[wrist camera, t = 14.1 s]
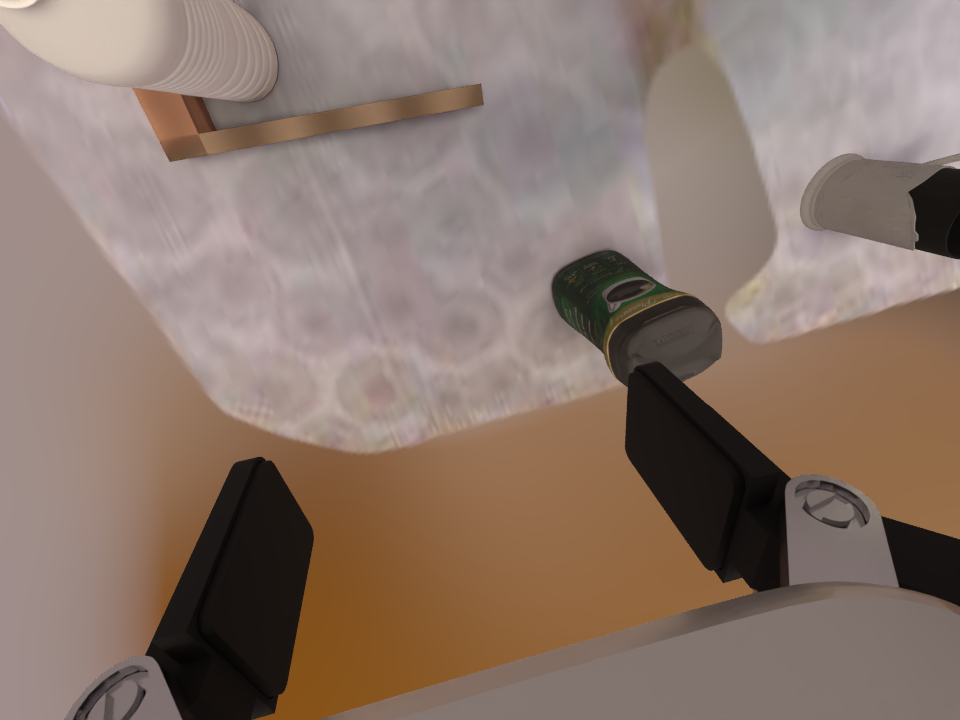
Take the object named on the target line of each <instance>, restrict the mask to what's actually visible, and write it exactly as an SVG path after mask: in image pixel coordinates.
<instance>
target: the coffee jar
mask: <svg viewBox="0 0 960 720" xmlns="http://www.w3.org/2000/svg"><path fill="white" fill-rule="evenodd" d="M553 296H554V300H555V304H556V307H557V310H558V312H559V314H560V316H561V317H562V318H563V319H564V320H565V321H566V322H567V323H568V324H569V325H570V326H572V327H573V328H574V329H575V330H577V331H578V332H579V333H581V334H582V335H583V336H584V337H586V338H587V339H588V340H589V341H590V342H592V343H593V344H594V345H595V346H596V347H597V348H598V349H600V350H601V351H602V353H603V354H604V356H605V360H606V362H607V365H608V367H609V369H610V371H611V373H612V374H613V375H614V377H615V378H616V379H617V380H619V381H620V382H621V383H623V384H624V385H625V386H627V387H628V377H629V374H630V373H633V372H634V368H635V367H636V366H638V365H643V364H647V363H651V362H655V361H658V362H660V363H662V364H663V365H664V366H665V367H666V368H667V369H668V370H669V371H671V372H672V373H673V374H674V375H675V376H676V377H677V378H678V379H679V380H681V381H682V382H683V381H685V380H687V379H689V378H691V377H693V376H696V375H698V374H699V373H701V372H703V371H704V370H706V369H707V368H708V367H710V366H711V365H712V364H713V363H714V362H715V361H716V360H718V359H720V358H721V352H722V329H721V324H720V321H719V319H718V318H717V316H716V315H715V313H714V312H713V311H712V310H711V309H710V308H709V307H707V306H706V305H705V304H704V303H703V302H702V301H700V300H699V299H698V298H696V297H695V296H693V295H691V294H687V293H684V292H680V291H676V290H673V289H670V288H668V287H666V286H664V285H662V284H660V283H659V282H657V281H656V280H654V279H653V278H652V277H650V276H649V275H648V274H646V273H645V272H644V271H642V270H641V269H640V268H639V267H637V266H636V265H635V264H634V263H633V262H631V261H630V260H629V259H627V258H626V257H625V256H623V255H622V254H620V253H618V252H615V251H605V252H601V253H598V254H595V255H592V256H589V257H587V258H585V259H582V260H580V261H578V262H576V263H574V264H572V265H570V266H569V267H567V268H565V269H564V270H563V271H561V272H560V273H559V274H558V276H557V277H556V279H555V281H554V284H553Z"/></svg>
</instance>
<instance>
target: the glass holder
mask: <svg viewBox="0 0 960 720" xmlns="http://www.w3.org/2000/svg"><path fill="white" fill-rule="evenodd" d="M955 161H960V154H956V155H952V156H948V157H945V158H941V159H937V160H933V161H930V162H926V163H923V164H917V163H905V162H893V161H881V160H868V159H865V158H863V157H862V156H860V155H857V154H845V155H841V156H839V157H836V158H835V159H833V160H831V161H830V162H828V163H827V164H826V165H824V166H823V167H822V168H821V169H820V170H819V171H818V172H817V173H816V175H815V176H814V177H813V178H812V180H811V181H810V183H809V184H808V186H807V188H806V190H805V192H804V195H803V198H802V201H801V208H800V214H801V219H802V221H803V223H804V224H805V225H806V226H807V227H808V228H810V229H812V230H826V229H829V230H833V231H837V232H841V233H845V234H849V235H853V236H857V237H861V238H865V239H869V240H873V241H877V242H881V243H885V244H889V245H893V246H897V247H901V248H905V249H909V250H914V249H917V250H921V251H925V252H929V253H934V254H938V255H942V256H946V257H950V258H954V259H960V169H956V168H954V167H951V166H942V165H943V164H947V163H951V162H955Z"/></svg>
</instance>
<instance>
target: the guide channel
mask: <svg viewBox="0 0 960 720" xmlns="http://www.w3.org/2000/svg"><path fill="white" fill-rule="evenodd" d="M133 90H134V92H135V94H136V96H137V98H138V100H139V102H140V104H141V106H142V108H143V110H144V112H145V114H146V116H147V118H148V120H149V122H150V124H151V126H152V128H153V130H154V132H155V134H156V136H157V138H158V140H159V142H160V144H161V146H162V148H163V150H164V152H165V153H166V155H167V157H168V159H169V161H170V162H172V161H177V160H183V159H188V158H194V157H199V156H205V155H210V154H216V153H221V152H227V151H232V150H238V149H243V148H249V147H254V146H260V145H265V144H271V143H276V142H282V141H287V140H293V139H298V138H304V137H309V136H315V135H320V134H326V133H331V132H337V131H342V130H348V129H353V128H359V127H364V126H370V125H375V124H381V123H386V122H392V121H397V120H403V119H408V118H414V117H419V116H425V115H430V114H436V113H441V112H447V111H452V110H458V109H463V108H469V107H474V106H480V105H484V104H483V96H482V88H481V84H477V85H471V86H466V87H460V88H455V89H449V90H443V91H438V92H432V93H426V94H421V95H415V96H409V97H404V98H398V99H393V100H387V101H381V102H376V103H370V104H364V105H359V106H353V107H348V108H342V109H336V110H331V111H325V112H319V113H314V114H308V115H303V116H297V117H291V118H286V119H280V120H274V121H269V122H263V123H258V124H252V125H246V126H241V127H235V128H229V129H224V130H218V131H216V130H215V127H214V125H213V123H212V121H211V118H210V116H209V114H208V111H207V109H206V107H205V104H204V102H203V100H202V98H201V97H197V96H190V95H182V94H177V93H171V92H163V91H156V90H148V89H140V88H133Z"/></svg>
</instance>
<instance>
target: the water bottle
mask: <svg viewBox="0 0 960 720" xmlns="http://www.w3.org/2000/svg"><path fill="white" fill-rule="evenodd" d="M0 24H1V25H2V26H3V27H4V28H5V29H6V30H7V31H8V32H9V33H10V34H11V35H12V36H13V37H14V38H15V39H17V40H18V41H19V42H20V43H21V44H22V45H23V46H24V47H25V48H27V49H28V50H29V51H30V52H32V53H34V54H35V55H37V56H38V57H40V58H41V59H43V60H45V61H46V62H48V63H50V64H51V65H53V66H55V67H57V68H58V69H60V70H62V71H64V72H66V73H69V74H71V75H73V76H76V77H78V78H81V79H84V80H87V81H90V82H94V83H98V84H104V85H110V86H119V87H132V88H140V89H148V90H156V91H163V92H171V93H177V94H182V95H190V96H197V97H206V98H214V99H222V100H229V101H235V102H254V101H257V100H260V99H262V98H263V97H265V96H266V95H267V94H268V93H269V92H270V91H271V90H272V88H273V86H274V84H275V82H276V79H277V74H278V70H277V69H278V61H277V55H276V51H275V48H274V45H273V43H272V41H271V39H270V37H269V35H268V34H267V32H266V31H265V29H264V28H263V27H262V25H261V24H260V23H259V22H258V21H257V20H256V19H255V18H254V17H253V16H252V15H251V14H249V13H248V12H247V11H245V10H244V9H243V8H241V7H240V6H238V5H237V4H236V3H234V2H233V1H232V0H0Z"/></svg>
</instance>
